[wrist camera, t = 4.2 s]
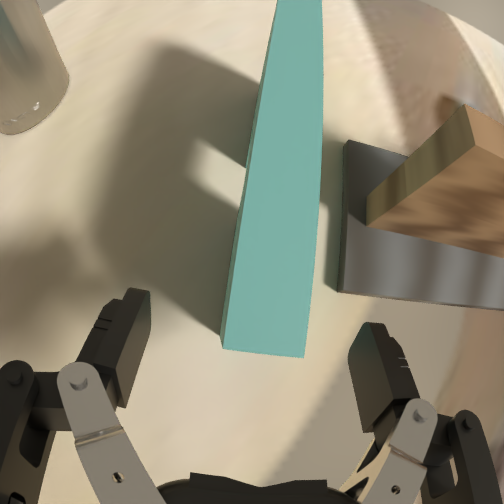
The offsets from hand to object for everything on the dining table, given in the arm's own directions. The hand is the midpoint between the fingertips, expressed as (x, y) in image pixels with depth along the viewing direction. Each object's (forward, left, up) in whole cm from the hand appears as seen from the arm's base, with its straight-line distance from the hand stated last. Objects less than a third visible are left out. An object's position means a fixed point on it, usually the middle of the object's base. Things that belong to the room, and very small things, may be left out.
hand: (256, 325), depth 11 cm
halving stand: (+2, +22, -10) cm, 24 cm away
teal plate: (-8, +5, -10) cm, 13 cm away
